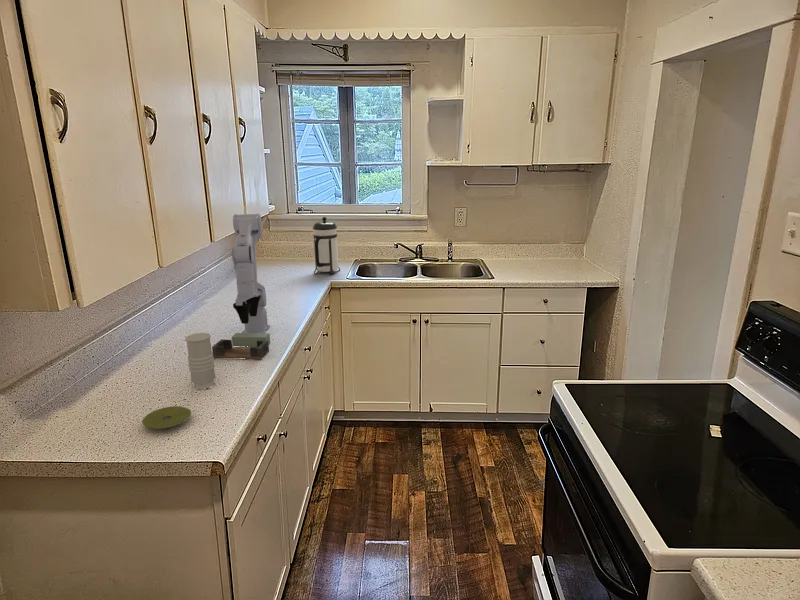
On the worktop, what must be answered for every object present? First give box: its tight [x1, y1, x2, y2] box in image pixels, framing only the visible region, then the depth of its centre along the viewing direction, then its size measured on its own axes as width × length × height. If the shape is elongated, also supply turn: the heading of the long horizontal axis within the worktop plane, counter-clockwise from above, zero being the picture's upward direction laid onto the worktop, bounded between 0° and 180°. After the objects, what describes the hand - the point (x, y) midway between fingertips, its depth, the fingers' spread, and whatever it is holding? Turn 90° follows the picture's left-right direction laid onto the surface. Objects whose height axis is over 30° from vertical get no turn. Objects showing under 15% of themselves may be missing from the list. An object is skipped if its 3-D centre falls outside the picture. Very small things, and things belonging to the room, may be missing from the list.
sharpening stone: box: [231, 332, 271, 348], centre depth 184 cm, size 4×12×4 cm, turn 86°
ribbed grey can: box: [184, 332, 217, 390], centre depth 152 cm, size 7×7×15 cm
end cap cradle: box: [211, 339, 270, 360], centre depth 175 cm, size 7×16×4 cm, turn 84°
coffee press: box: [312, 216, 341, 276], centre depth 282 cm, size 17×16×30 cm
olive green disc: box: [142, 405, 192, 430], centre depth 133 cm, size 11×11×2 cm
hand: (249, 319), depth 182 cm, fingers open, 7 cm apart
